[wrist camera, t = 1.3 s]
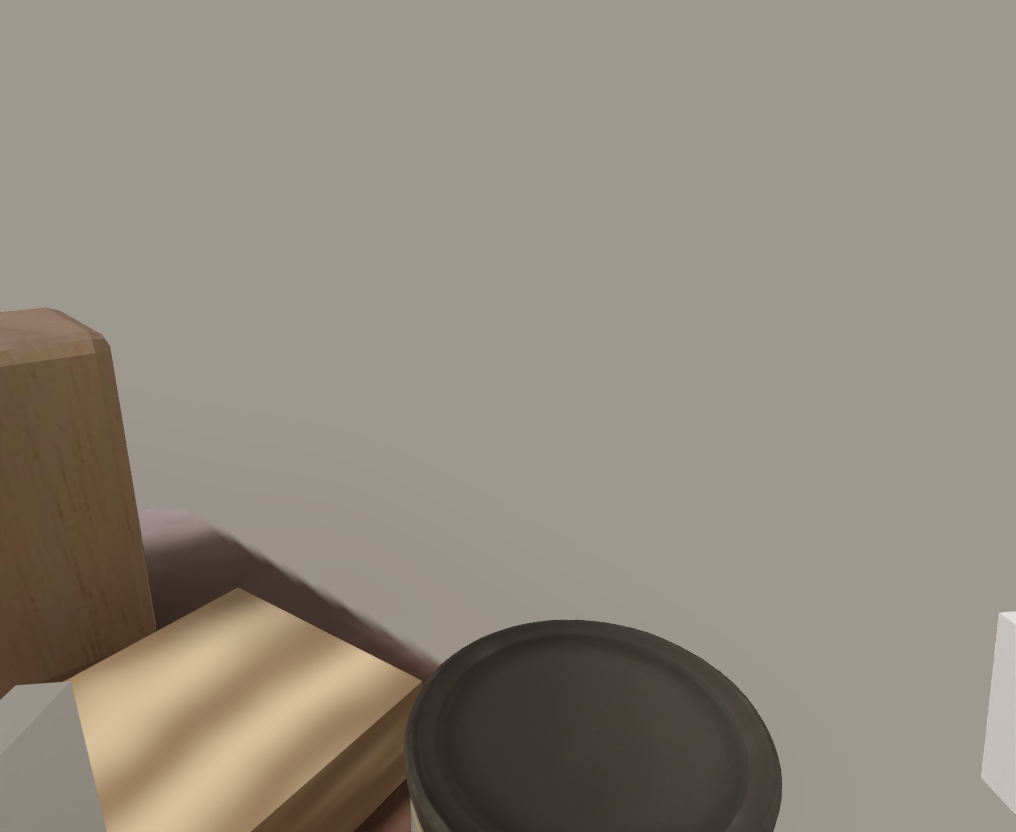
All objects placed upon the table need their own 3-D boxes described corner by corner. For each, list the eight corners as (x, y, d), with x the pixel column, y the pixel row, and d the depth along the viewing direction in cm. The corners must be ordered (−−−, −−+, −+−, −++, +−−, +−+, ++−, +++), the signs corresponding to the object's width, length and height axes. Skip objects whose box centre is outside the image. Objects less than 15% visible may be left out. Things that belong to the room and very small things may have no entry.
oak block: (-12, 822, 32) (-37, 736, 31) (246, 657, 43) (238, 587, 42) (171, 1017, 25) (151, 918, 24) (423, 760, 36) (422, 681, 35)
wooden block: (111, 580, 51) (60, 303, 44) (164, 646, 44) (113, 331, 38) (-63, 639, 44) (-154, 324, 38) (-32, 728, 38) (-136, 363, 31)
